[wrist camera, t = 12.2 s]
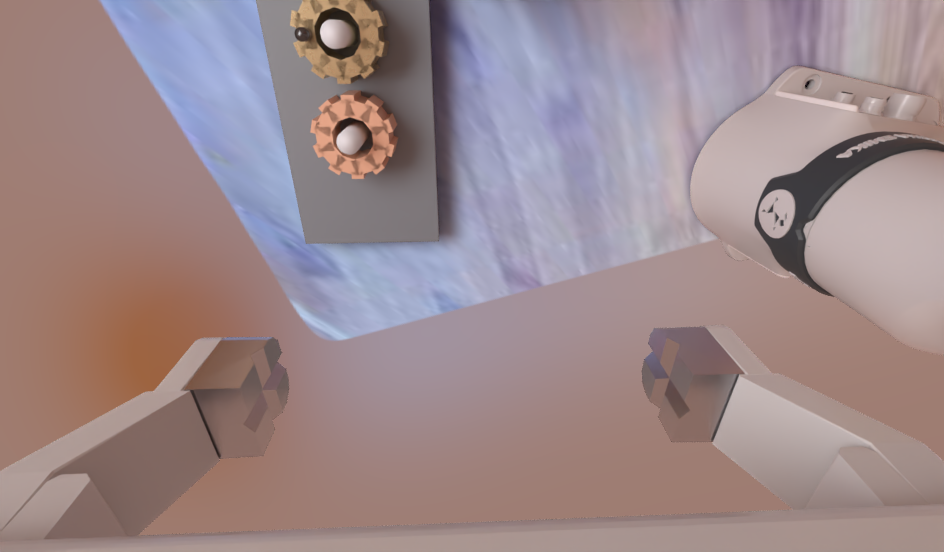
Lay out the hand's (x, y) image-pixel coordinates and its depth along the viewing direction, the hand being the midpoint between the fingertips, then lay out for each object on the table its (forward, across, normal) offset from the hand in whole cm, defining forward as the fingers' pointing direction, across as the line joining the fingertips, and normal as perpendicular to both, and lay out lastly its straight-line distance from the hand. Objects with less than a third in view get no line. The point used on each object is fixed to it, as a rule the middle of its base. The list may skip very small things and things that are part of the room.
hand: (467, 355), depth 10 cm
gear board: (+34, +8, +1) cm, 35 cm away
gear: (+32, +8, -6) cm, 34 cm away
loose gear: (+32, +8, +2) cm, 33 cm away
